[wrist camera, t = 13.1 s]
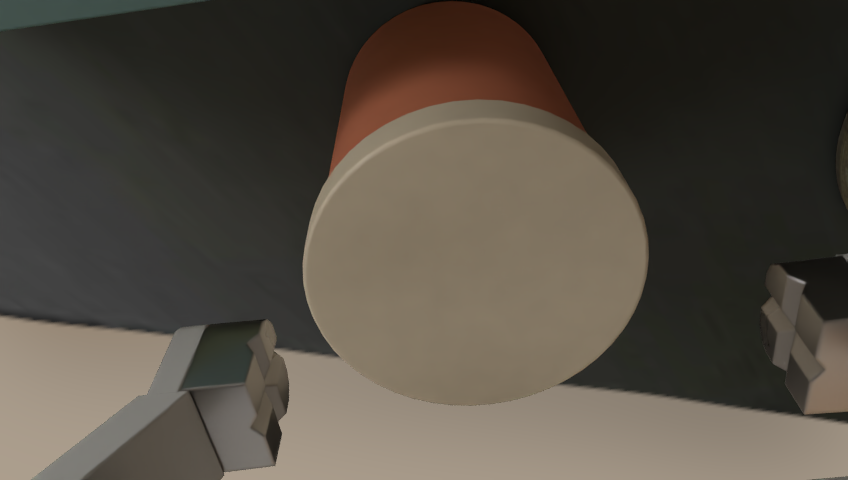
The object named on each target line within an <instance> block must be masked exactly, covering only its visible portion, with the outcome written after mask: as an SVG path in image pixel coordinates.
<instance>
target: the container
mask: <svg viewBox="0 0 848 480" xmlns="http://www.w3.org/2000/svg"><path fill="white" fill-rule="evenodd" d="M836 176H837V182H838V187H839V191H840V194H841V197H842V199H843V201H844V204H845V206H846V208H847V210H848V111H847V114H846V116H845V119H844V121H843V124H842V128H841V131H840V135H839V139H838V144H837V151H836Z"/></svg>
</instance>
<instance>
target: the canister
mask: <svg viewBox="0 0 848 480" xmlns="http://www.w3.org/2000/svg"><path fill="white" fill-rule="evenodd" d="M648 260H649V248H648V235H647V230H646V225H645V221H644V217H643V214H642V212H641V209H640V207H639V204H638V202H637V199H636V198H635V196H634V194H633V193H632V191H631V189H630V187H629V186H628V184H627V182H626V181H625V179H624V177H623V176H622V174H621V172H620V171H619V169H618V167H617V165H616V164H615V162H614V161H613V160H612V159H611V157H610V156H609V155H608V154H607V153H606V151H605V150H604V149H603V148H602V147H601V146H600V145H599V144H598V143H597V142H596V141H594V140H593V139H592V138H591V137H590V136H589V135H588V134H587V133H586V131H585V129H584V127H583V126H582V124H581V122H580V120H579V118H578V117H577V115H576V113H575V111H574V109H573V108H572V106H571V104H570V102H569V100H568V99H567V97H566V95H565V93H564V91H563V90H562V88H561V86H560V84H559V82H558V81H557V79H556V77H555V75H554V73H553V72H552V70H551V68H550V66H549V64H548V62H547V61H546V59H545V57H544V55H543V54H542V52H541V50H540V49H539V47H538V45H537V44H536V42H535V41H534V40H533V39H532V37H531V36H530V35H529V34H528V33H527V32H526V31H525V30H524V29H523V28H522V27H521V26H520V25H519V24H517V23H516V22H515V21H513V20H512V19H510V18H509V17H507V16H506V15H504V14H502V13H500V12H498V11H496V10H494V9H491V8H488V7H485V6H482V5H479V4H474V3H469V2H460V1H444V2H434V3H430V4H425V5H421V6H418V7H415V8H412V9H410V10H407V11H405V12H403V13H401V14H399V15H397V16H395V17H394V18H392V19H391V20H389V21H388V22H387V23H385V24H384V25H382V26H381V27H380V28H379V29H378V30H377V31H376V32H375V33H374V34H373V35H372V36H371V37H370V38H369V39H368V40H367V42H366V43H365V44H364V45H363V47H362V48H361V50H360V51H359V53H358V55H357V56H356V58H355V60H354V62H353V65H352V67H351V69H350V72H349V75H348V79H347V82H346V87H345V92H344V97H343V103H342V108H341V114H340V119H339V124H338V130H337V135H336V140H335V146H334V151H333V157H332V162H331V167H330V173H329V178H328V179H327V181H326V182H325V184H324V185H323V187H322V190H321V192H320V194H319V196H318V198H317V200H316V203H315V205H314V209H313V212H312V216H311V219H310V223H309V228H308V233H307V237H306V242H305V249H304V257H303V283H304V288H305V293H306V299H307V302H308V305H309V308H310V310H311V313H312V316H313V318H314V320H315V322H316V324H317V326H318V328H319V329H320V331H321V333H322V335H323V336H324V338H325V339H326V340H327V342H328V343H329V344H330V346H331V347H332V348H333V350H334V351H335V352H336V353H337V354H338V355H339V356H340V357H341V358H342V359H343V360H344V361H345V362H346V363H347V364H348V365H350V366H351V367H352V368H353V369H355V370H356V371H357V372H359V373H360V374H361V375H363V376H364V377H366V378H368V379H369V380H371V381H373V382H374V383H376V384H378V385H380V386H382V387H384V388H386V389H389V390H391V391H393V392H395V393H398V394H401V395H404V396H407V397H410V398H413V399H418V400H422V401H426V402H431V403H438V404H447V405H469V406H471V405H485V404H495V403H501V402H506V401H512V400H515V399H519V398H523V397H527V396H530V395H533V394H535V393H538V392H541V391H544V390H546V389H549V388H551V387H553V386H555V385H557V384H559V383H561V382H563V381H565V380H567V379H569V378H570V377H572V376H573V375H575V374H577V373H578V372H580V371H581V370H583V369H584V368H586V367H587V366H588V365H589V364H591V363H592V362H593V361H594V360H596V359H597V358H598V357H599V356H600V355H601V354H602V353H603V352H604V351H605V350H606V349H607V348H608V347H609V346H610V345H611V344H612V343H613V342H614V341H615V340H616V338H617V337H618V336H619V335H620V333H621V332H622V331H623V330H624V328H625V327H626V325H627V323H628V322H629V320H630V318H631V317H632V315H633V313H634V311H635V309H636V307H637V304H638V302H639V300H640V297H641V295H642V291H643V288H644V284H645V280H646V276H647V269H648Z"/></svg>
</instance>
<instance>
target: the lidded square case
mask: <svg viewBox="0 0 848 480" xmlns="http://www.w3.org/2000/svg"><path fill="white" fill-rule="evenodd" d="M203 1H210V0H0V32H1V31H7V30H14V29H21V28H28V27H34V26H41V25H48V24H55V23H61V22H68V21H75V20H82V19H88V18H95V17H102V16H109V15H115V14H122V13H129V12H136V11H142V10H149V9H156V8H163V7H169V6H176V5H183V4H190V3H196V2H203Z"/></svg>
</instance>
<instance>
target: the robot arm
mask: <svg viewBox="0 0 848 480" xmlns="http://www.w3.org/2000/svg"><path fill="white" fill-rule="evenodd" d="M765 286H766V288H767V289H768V291H769V292H770V294H771V295H772V296H771V297H770V298H769V299H768V301H767V302H766V303H765V304H764V305H763V306H762V307H761V314H760V331H761V338H762V342H763V345H764V348H765V351H766V353H767V355H768V356H769V358H770V360H771V361H772V363H773V364H774V365H776V366H778V367H780V368H782V369H783V370H785V371H787V375H786V380H785V385H786V386H787V388H788V389H789V391H790V393H791V394H792V396H793V397H794V399H795V401H796V402H797V404H798V405H799V407H800V409H801V410H802V412H803V413H804V414H818V413H832V412H846V411H848V254H842V255H836V256H835V257H826V258H817V259H809V260H800V261H791V262H783V263H774V264H771V265H770V267H769V269H768V271H767V274H766V280H765ZM276 340H277V337H276V334H275V331H274V329H273V326H272V323H271V322H270V321H268V320H267V319H264V320H253V321H241V322H230V323H219V324H210V325H200V326H190V327H181V328H180V329H178V330H177V331H176V332H175V333H174V336H173V338H172V340H171V343H170V345H169V347H168V349H167V351H166V353H165V356H164V358H163V360H162V362H161V365H160V367H159V369H158V371H157V374H156V376H155V378H154V381H153V383H152V385H151V387H150V389H149V391H148V394H147V395H143V396H138V397H136V398H135V399H134V400H133V401H131V402H130V403H129V404H127V405H126V406H125V407H124V408H122V409H121V410H120V411H118V412H117V413H116V414H114V415H113V416H112V417H111V418H109V419H108V420H107V421H106V422H104V423H103V424H102V425H100V426H99V427H98V428H97V429H95V430H94V431H93V432H91V433H90V434H89V435H88V436H86V437H85V438H84V439H83V440H81V441H80V442H79V443H77V444H76V445H75V446H73V447H72V448H71V449H70V450H68V451H67V452H66V453H65V454H63V455H62V456H61V457H59V458H58V459H57V460H56V461H54V462H53V463H52V464H50V465H49V466H48V467H47V468H45V469H44V470H43V471H42V472H40V473H39V474H38V475H36V476H35V477H34V478H33V479H32V480H221V479H222V477H223V476H224V473H223V472H230V471H238V470H246V469H253V468H262V467H270V466H275V464H276V459H277V455H278V450H279V445H280V441H281V436H282V432H281V429H280V426H279V424H278V421H279V420H280V419H281V418H282V417H283V416H284V415H285V414H286V412H287V407H288V402H289V381H288V374H287V369H286V366H285V363H284V359H283V358H282V357H280V355H278V354H277V353H276V352H274V348H275V344H276ZM813 480H848V477H835V478H826V479H825V478H824V479H813Z"/></svg>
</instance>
